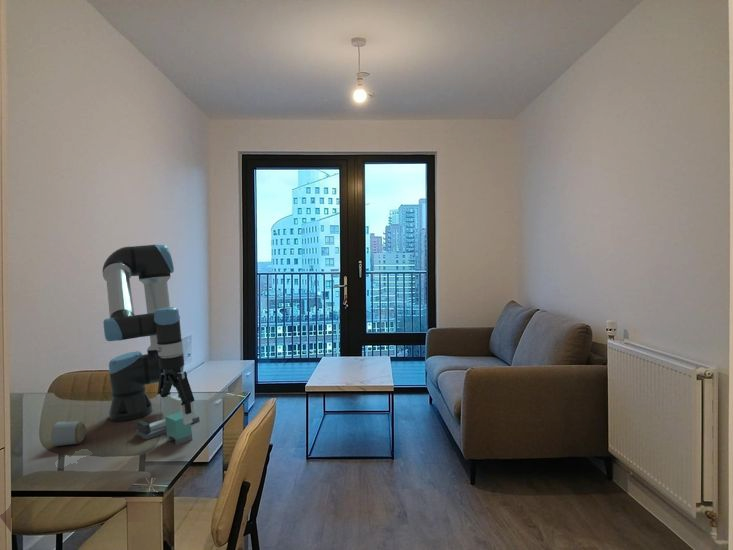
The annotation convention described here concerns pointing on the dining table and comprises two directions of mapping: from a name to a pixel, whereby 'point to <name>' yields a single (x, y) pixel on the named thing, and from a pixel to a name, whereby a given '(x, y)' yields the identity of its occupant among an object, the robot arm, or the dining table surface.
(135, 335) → the robot arm
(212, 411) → the dining table surface
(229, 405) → the dining table surface
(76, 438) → the ceramic mug
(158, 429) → the board
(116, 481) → the dining table surface
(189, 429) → the block
